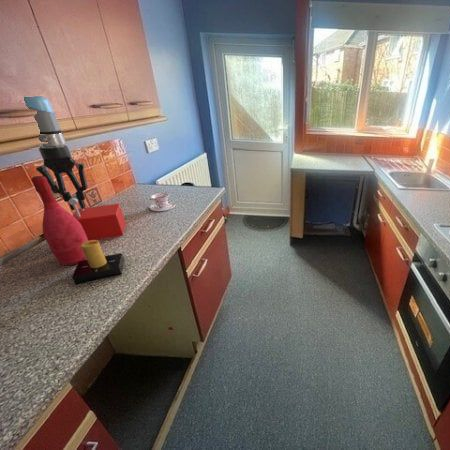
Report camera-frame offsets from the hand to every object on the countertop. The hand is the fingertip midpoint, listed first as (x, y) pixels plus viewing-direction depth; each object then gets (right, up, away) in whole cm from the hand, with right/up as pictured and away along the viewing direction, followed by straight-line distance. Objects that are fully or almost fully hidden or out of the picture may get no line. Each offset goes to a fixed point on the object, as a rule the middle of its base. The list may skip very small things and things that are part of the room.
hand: (78, 208), depth 97 cm
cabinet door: (+4, -2, +3) cm, 6 cm away
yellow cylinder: (+21, -19, -16) cm, 32 cm away
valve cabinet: (+4, -10, +8) cm, 13 cm away
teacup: (+15, +3, +32) cm, 35 cm away
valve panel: (+20, -22, -14) cm, 33 cm away
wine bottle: (+7, -19, -9) cm, 22 cm away
